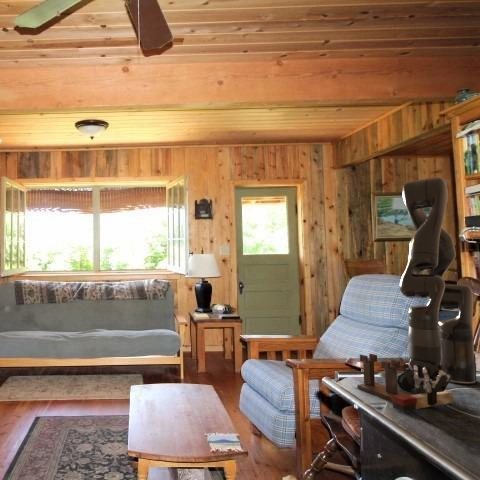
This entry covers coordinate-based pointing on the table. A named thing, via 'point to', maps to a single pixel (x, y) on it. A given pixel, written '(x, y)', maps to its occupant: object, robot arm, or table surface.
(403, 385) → the microphone
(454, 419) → the table surface
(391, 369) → the rack
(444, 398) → the brush
